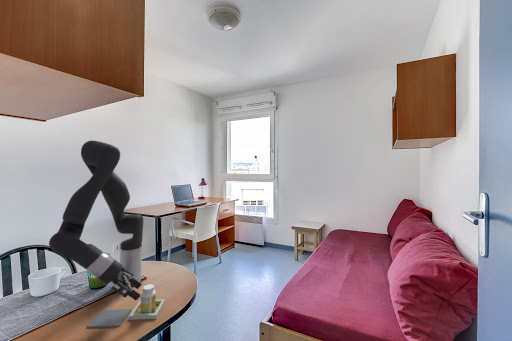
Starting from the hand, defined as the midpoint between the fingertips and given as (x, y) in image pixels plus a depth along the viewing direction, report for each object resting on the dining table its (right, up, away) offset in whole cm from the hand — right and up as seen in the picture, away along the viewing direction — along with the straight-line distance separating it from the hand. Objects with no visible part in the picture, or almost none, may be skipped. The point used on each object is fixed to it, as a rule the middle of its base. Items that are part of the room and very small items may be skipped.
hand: (139, 292), depth 87 cm
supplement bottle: (+3, -9, +2) cm, 9 cm away
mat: (-9, -8, -4) cm, 13 cm away
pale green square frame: (+3, -8, +2) cm, 9 cm away
